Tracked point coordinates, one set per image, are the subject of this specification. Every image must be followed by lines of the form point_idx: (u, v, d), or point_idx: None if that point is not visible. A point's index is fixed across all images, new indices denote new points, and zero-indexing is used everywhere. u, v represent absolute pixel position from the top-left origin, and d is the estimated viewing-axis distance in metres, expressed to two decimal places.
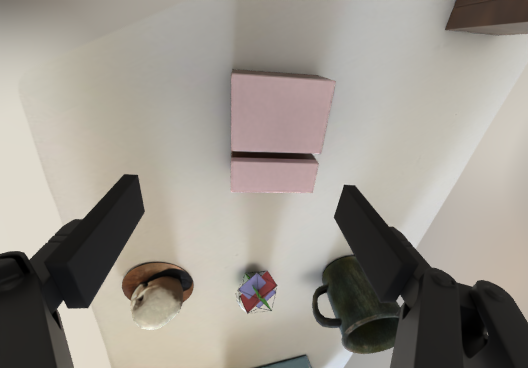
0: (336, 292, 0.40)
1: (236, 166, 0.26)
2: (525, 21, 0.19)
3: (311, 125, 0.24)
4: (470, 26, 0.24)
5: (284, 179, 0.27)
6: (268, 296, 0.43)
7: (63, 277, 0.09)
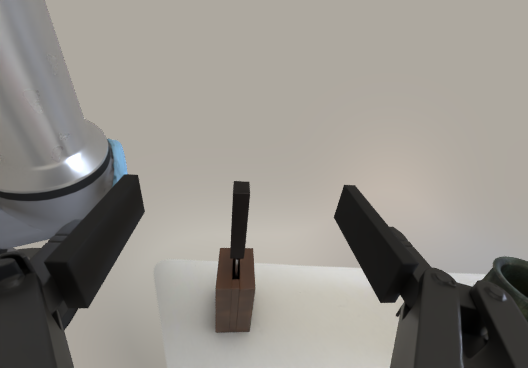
0: None
1: None
2: (253, 295, 0.31)
3: None
4: (250, 318, 0.33)
5: None
6: None
7: (63, 277, 0.09)
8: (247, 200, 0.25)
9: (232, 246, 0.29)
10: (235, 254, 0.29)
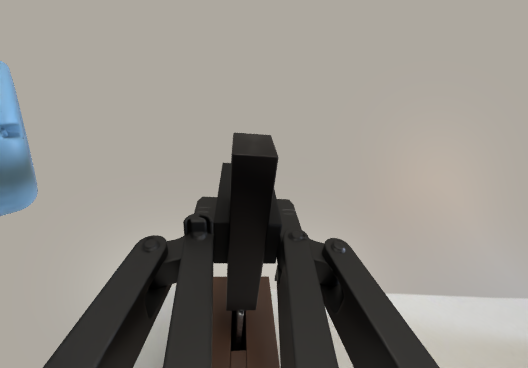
0: None
1: None
2: None
3: None
4: None
5: None
6: None
7: (221, 236, 0.11)
8: (270, 176, 0.09)
9: (230, 287, 0.13)
10: (237, 303, 0.13)
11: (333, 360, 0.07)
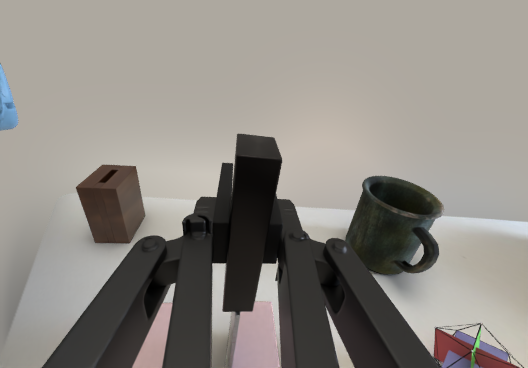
0: (390, 248, 0.33)
1: None
2: (117, 197, 0.32)
3: (163, 319, 0.21)
4: (124, 226, 0.35)
5: (256, 341, 0.20)
6: (473, 341, 0.26)
7: (220, 236, 0.11)
8: (274, 178, 0.09)
9: (228, 288, 0.13)
10: (234, 304, 0.13)
11: (334, 360, 0.07)
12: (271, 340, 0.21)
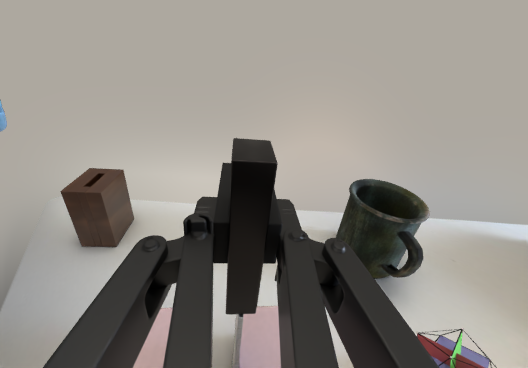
0: (376, 252, 0.33)
1: None
2: (103, 201, 0.32)
3: None
4: (111, 230, 0.35)
5: (263, 346, 0.21)
6: (455, 346, 0.25)
7: (221, 236, 0.11)
8: (270, 182, 0.10)
9: (230, 291, 0.13)
10: (237, 306, 0.13)
11: (333, 360, 0.07)
12: (278, 345, 0.21)
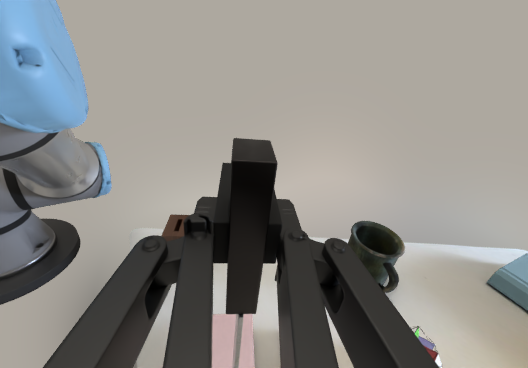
0: None
1: None
2: None
3: (233, 324, 0.37)
4: None
5: None
6: None
7: (221, 236, 0.11)
8: (270, 182, 0.09)
9: (230, 291, 0.13)
10: (237, 306, 0.13)
11: (333, 360, 0.07)
12: None
